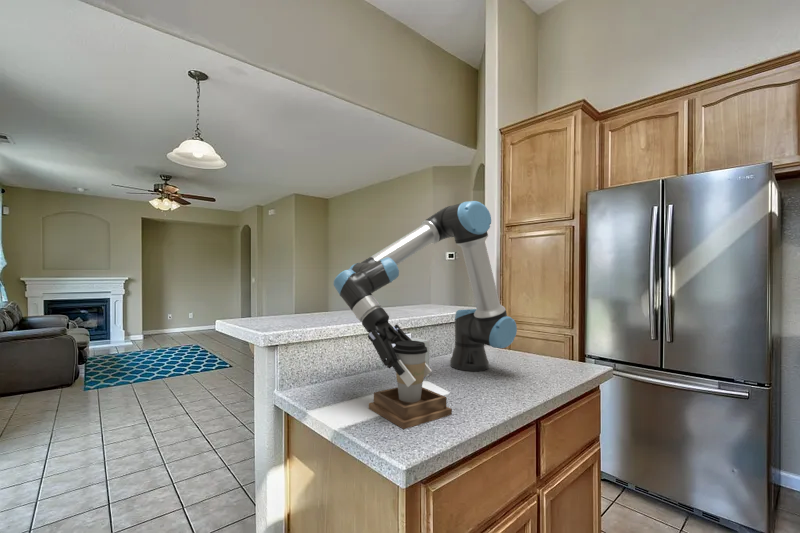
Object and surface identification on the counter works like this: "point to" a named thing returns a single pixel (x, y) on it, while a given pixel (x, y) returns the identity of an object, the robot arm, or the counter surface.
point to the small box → (425, 346)
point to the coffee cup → (411, 368)
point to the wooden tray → (409, 407)
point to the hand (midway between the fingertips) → (420, 378)
